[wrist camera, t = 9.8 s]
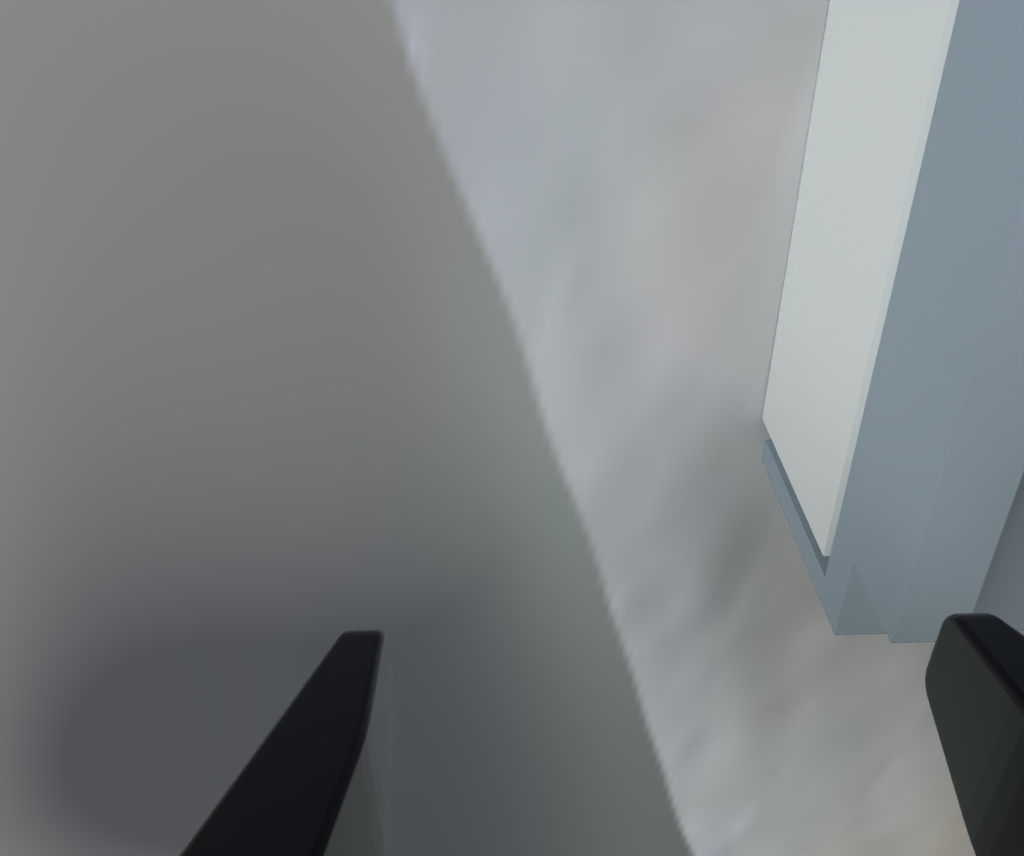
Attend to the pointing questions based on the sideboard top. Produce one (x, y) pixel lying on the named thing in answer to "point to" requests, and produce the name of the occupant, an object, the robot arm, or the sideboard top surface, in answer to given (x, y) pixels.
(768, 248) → the sideboard top surface
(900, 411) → the cabinet
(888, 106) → the housing
